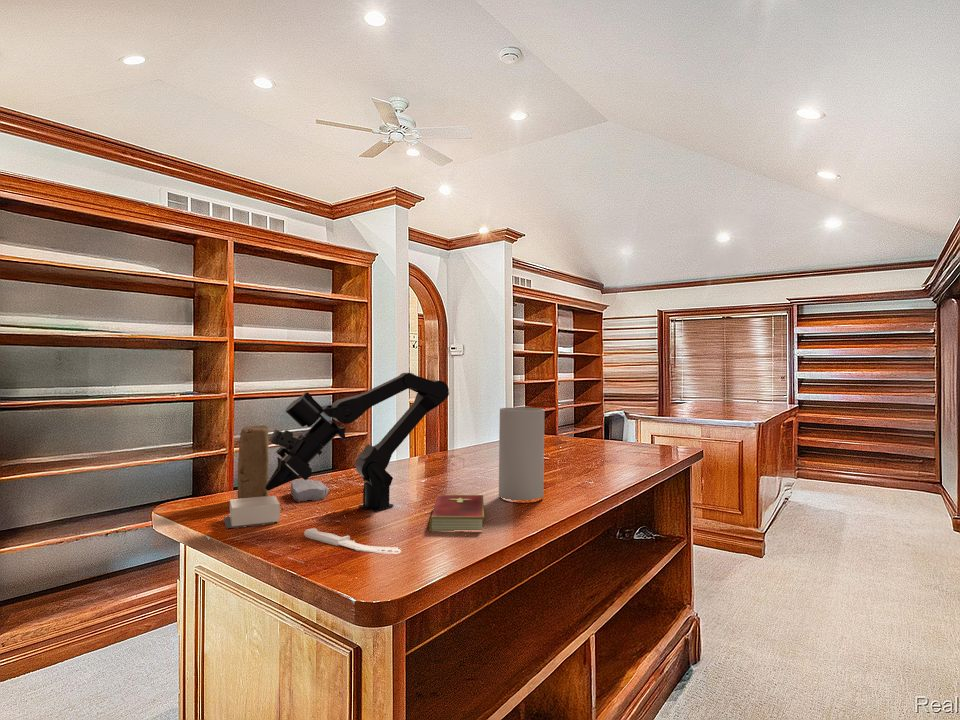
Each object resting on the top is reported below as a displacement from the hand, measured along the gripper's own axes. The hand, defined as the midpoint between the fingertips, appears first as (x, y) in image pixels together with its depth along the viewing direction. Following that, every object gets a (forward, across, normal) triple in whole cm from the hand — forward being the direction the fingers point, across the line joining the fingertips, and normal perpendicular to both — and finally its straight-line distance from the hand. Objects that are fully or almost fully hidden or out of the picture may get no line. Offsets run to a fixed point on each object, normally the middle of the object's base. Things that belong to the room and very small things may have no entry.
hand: (266, 489), depth 128 cm
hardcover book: (-24, +19, +35) cm, 46 cm away
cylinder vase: (-42, +7, +52) cm, 67 cm away
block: (+6, -20, +4) cm, 21 cm away
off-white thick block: (+2, 0, +5) cm, 5 cm away
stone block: (-4, -20, +15) cm, 25 cm away
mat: (+8, 0, +2) cm, 8 cm away
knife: (-6, +28, +17) cm, 34 cm away
